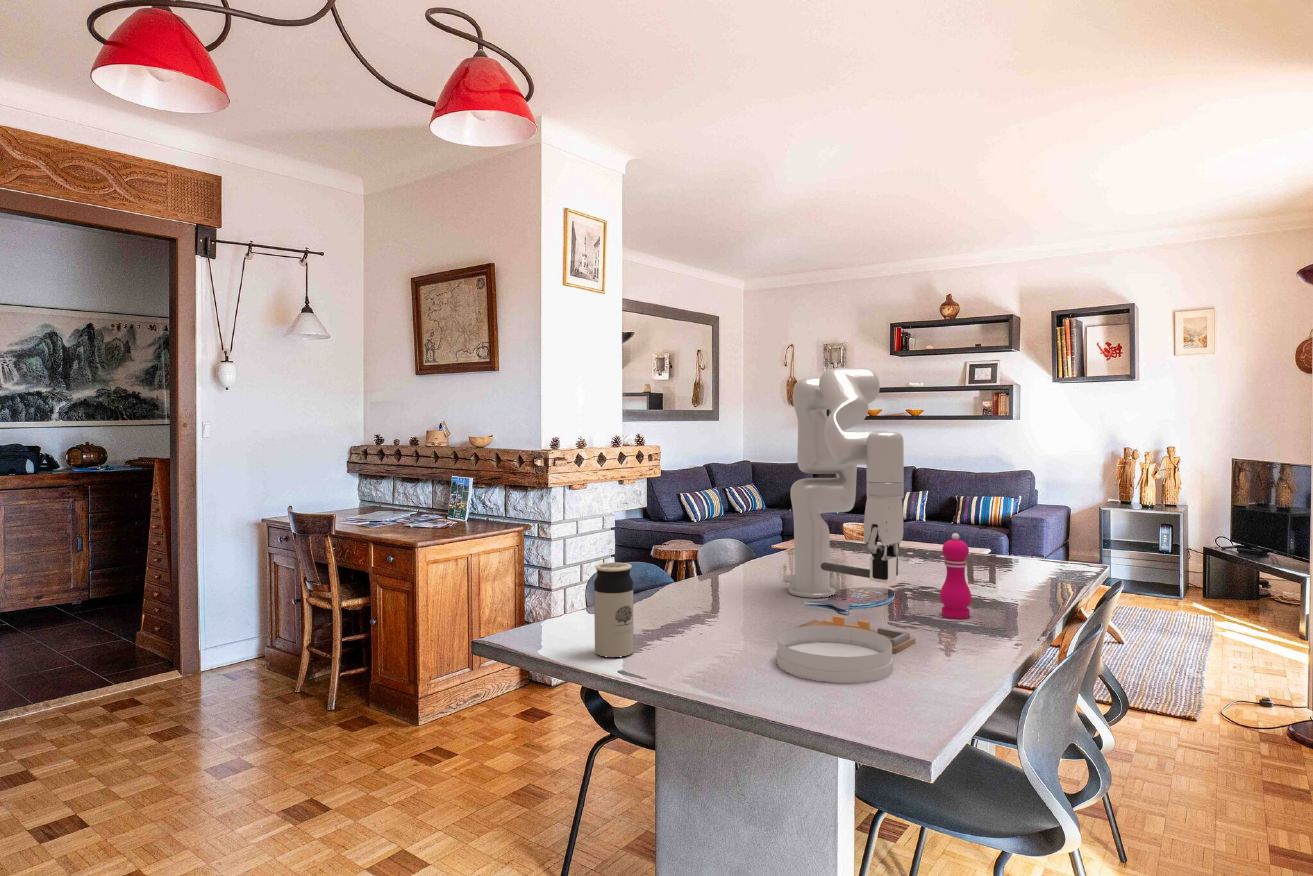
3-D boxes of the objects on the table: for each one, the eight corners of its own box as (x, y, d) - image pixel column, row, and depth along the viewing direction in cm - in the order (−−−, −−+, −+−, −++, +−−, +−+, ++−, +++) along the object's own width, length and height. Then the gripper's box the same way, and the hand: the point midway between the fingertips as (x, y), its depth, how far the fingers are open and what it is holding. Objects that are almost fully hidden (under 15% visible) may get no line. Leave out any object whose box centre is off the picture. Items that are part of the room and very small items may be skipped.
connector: (816, 571, 171) (816, 549, 171) (825, 568, 174) (826, 547, 174) (887, 583, 159) (887, 559, 159) (896, 580, 162) (896, 557, 162)
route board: (792, 633, 171) (792, 628, 171) (814, 623, 179) (814, 619, 179) (895, 653, 155) (895, 648, 155) (915, 642, 163) (915, 637, 163)
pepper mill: (966, 612, 188) (966, 531, 188) (975, 619, 181) (975, 535, 181) (936, 611, 189) (936, 531, 189) (944, 619, 182) (944, 535, 181)
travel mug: (589, 650, 159) (588, 563, 159) (625, 645, 162) (624, 560, 162) (602, 661, 152) (601, 570, 152) (639, 655, 155) (638, 567, 155)
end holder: (864, 640, 161) (864, 634, 161) (879, 633, 167) (879, 627, 167) (895, 646, 157) (895, 640, 157) (909, 638, 162) (909, 632, 162)
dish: (818, 642, 165) (817, 619, 165) (914, 665, 149) (914, 639, 149) (753, 665, 149) (753, 640, 149) (853, 693, 133) (853, 665, 133)
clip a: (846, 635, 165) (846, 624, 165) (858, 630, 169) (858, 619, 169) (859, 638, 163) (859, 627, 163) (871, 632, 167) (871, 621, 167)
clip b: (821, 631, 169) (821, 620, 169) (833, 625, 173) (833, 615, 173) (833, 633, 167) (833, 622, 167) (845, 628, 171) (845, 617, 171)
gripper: (885, 487, 170) (885, 569, 171) (850, 492, 158) (850, 581, 158) (918, 488, 165) (918, 573, 166) (884, 494, 153) (885, 585, 153)
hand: (885, 576), depth 162 cm, fingers closed on connector, 4 cm apart
